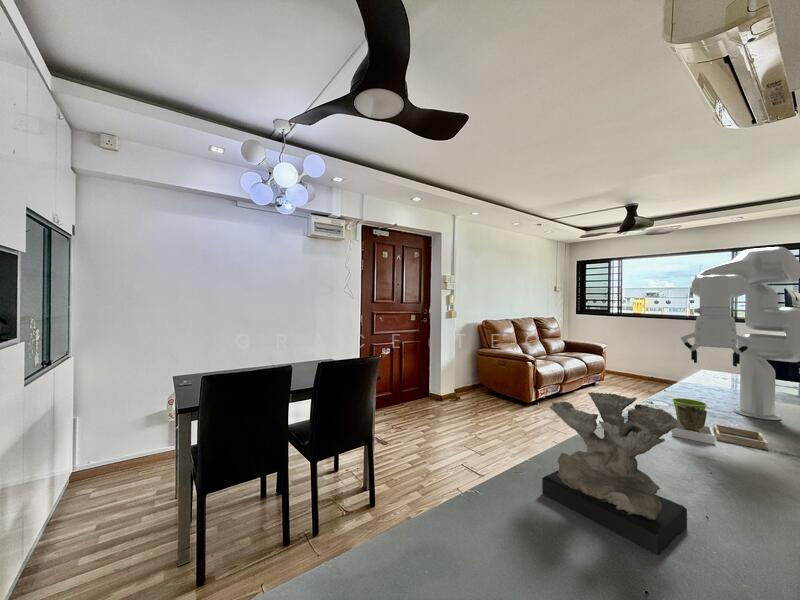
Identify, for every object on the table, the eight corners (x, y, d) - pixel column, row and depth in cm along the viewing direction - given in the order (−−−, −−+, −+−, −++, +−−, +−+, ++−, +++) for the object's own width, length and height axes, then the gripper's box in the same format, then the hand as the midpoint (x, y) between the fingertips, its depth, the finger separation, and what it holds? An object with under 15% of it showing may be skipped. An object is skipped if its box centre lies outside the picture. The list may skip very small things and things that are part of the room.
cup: (697, 429, 113) (697, 406, 113) (712, 438, 106) (712, 413, 106) (671, 427, 115) (671, 404, 115) (685, 436, 108) (685, 411, 108)
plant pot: (665, 423, 120) (666, 399, 120) (680, 420, 124) (681, 396, 124) (697, 433, 112) (698, 407, 112) (712, 429, 116) (713, 404, 116)
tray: (672, 427, 117) (672, 419, 117) (711, 434, 111) (711, 427, 111) (672, 435, 109) (672, 428, 109) (714, 444, 103) (714, 436, 103)
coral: (527, 486, 78) (529, 392, 78) (578, 464, 88) (580, 382, 88) (655, 557, 56) (658, 428, 56) (701, 518, 67) (703, 409, 67)
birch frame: (713, 429, 116) (713, 423, 116) (760, 438, 109) (760, 432, 109) (717, 439, 107) (717, 433, 107) (767, 449, 100) (768, 442, 100)
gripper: (681, 312, 115) (680, 362, 115) (754, 313, 104) (754, 369, 104) (680, 311, 121) (680, 359, 121) (750, 312, 110) (749, 365, 110)
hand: (714, 364), depth 113 cm, fingers open, 9 cm apart
